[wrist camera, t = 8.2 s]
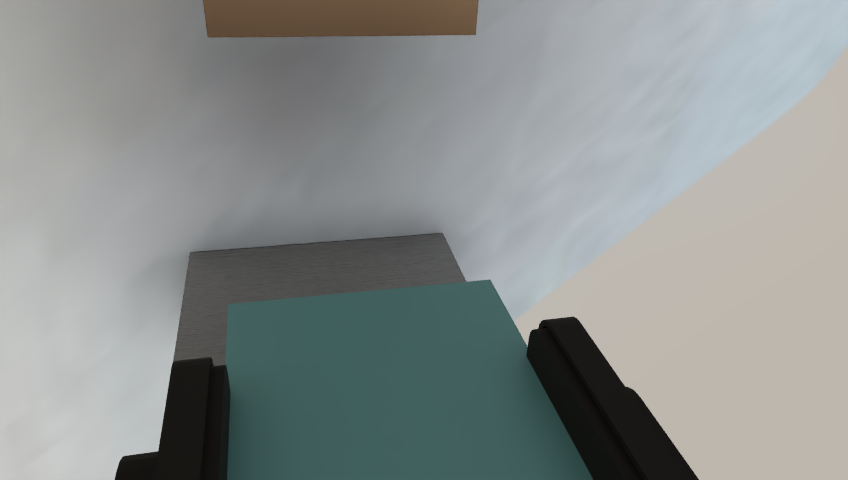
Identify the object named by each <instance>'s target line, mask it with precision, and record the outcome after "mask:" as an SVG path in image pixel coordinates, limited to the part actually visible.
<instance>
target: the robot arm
mask: <svg viewBox="0 0 848 480" xmlns="http://www.w3.org/2000/svg"><path fill="white" fill-rule="evenodd" d="M526 357H527V358H528V360H529V362H530V364H531V366H532V368H533V369H534V371H535V373H536V375H537V377H538V379H539V380H540V382H541V384H542V386H543V388H544V390H545V392H546V393H547V395H548V397H549V399H550V401H551V403H552V404H553V406H554V408H555V410H556V412H557V414H558V416H559V417H560V419H561V421H562V423H563V425H564V427H565V428H566V430H567V432H568V434H569V436H570V438H571V440H572V441H573V443H574V445H575V447H576V449H577V451H578V452H579V454H580V456H581V458H582V460H583V462H584V463H585V465H586V467H587V469H588V471H589V473H590V475H591V476H592V478H593V480H699V479H698V478H697V476H696V475H695V474H694V472H693V471H692V469H691V468H690V467H689V465H688V464H687V462H686V461H685V460H684V458H683V457H682V455H681V454H680V453H679V451H678V450H677V448H676V447H675V445H674V444H673V443H672V441H671V440H670V438H669V437H668V436H667V434H666V433H665V431H664V430H663V429H662V427H661V426H660V425H659V423H658V422H657V421H656V419H655V417H654V416H653V415H652V413H651V412H650V410H649V409H648V408H647V407H646V405H645V403H644V402H643V401H642V399H641V398H640V397H639V395H638V394H637V393H636V392H635V391H634V390H633V389H631V388H628V387H625V386H624V384H623V383H622V382H621V380H620V379H619V377H618V376H617V375H616V373H615V372H614V370H613V369H612V367H611V366H610V364H609V363H608V361H607V360H606V359H605V357H604V356H603V354H602V353H601V352H600V350H599V349H598V347H597V346H596V344H595V343H594V342H593V340H592V339H591V337H590V336H589V335H588V333H587V331H586V330H585V329H584V327H583V326H582V324H581V323H580V322H579V320H578V319H577V318H575V317H567V318H558V319H549V320H543V321H541V323H540V324H539V328H538V329H535V330H532V331H531V332H530V336H529V342H528V348H527V354H526ZM230 395H231V391H230V384H229V377H228V371H227V366H226V365H219V366H214V365H213V360H212V358H211V357H206V358H197V359H188V360H179V361H174V362H173V364H172V369H171V375H170V381H169V388H168V394H167V400H166V407H165V413H164V419H163V426H162V432H161V438H160V445H159V451H158V452H151V453H144V454H136V455H129V456H124V457H122V459H121V460H120V462H119V465H118V469H117V472H116V477H115V480H227V469H228V444H229V420H230Z"/></svg>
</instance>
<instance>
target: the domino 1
mask: <svg viewBox="0 0 848 480" xmlns="http://www.w3.org/2000/svg"><path fill="white" fill-rule="evenodd" d="M203 3H204V11H205V19H206V27H207V35H208V37H305V36H411V35H476V24H477V12H478V0H203Z"/></svg>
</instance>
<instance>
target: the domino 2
mask: <svg viewBox="0 0 848 480" xmlns="http://www.w3.org/2000/svg"><path fill="white" fill-rule="evenodd" d="M527 348H528V347H527V345H526V343H525V342H524V340H523V338H522V336H521V334H520V333H519V331H518V329H517V327H516V325H515V324H514V322H513V320H512V318H511V316H510V315H509V313H508V311H507V309H506V307H505V306H504V304H503V302H502V300H501V298H500V297H499V295H498V293H497V291H496V289H495V288H494V286H493V284H492V282H491V280H482V281H471V282H460V283H449V284H438V285H428V286H417V287H406V288H395V289H385V290H374V291H363V292H352V293H341V294H331V295H320V296H309V297H298V298H288V299H277V300H266V301H255V302H244V303H234V304H228V319H227V338H226V356H225V365H226V366H227V371H228V377H229V384H230V391H231V395H230V420H229V444H228V469H227V480H593V478H592V476H591V475H590V473H589V471H588V469H587V467H586V465H585V463H584V462H583V460H582V458H581V456H580V454H579V452H578V451H577V449H576V447H575V445H574V443H573V441H572V440H571V438H570V436H569V434H568V432H567V430H566V428H565V427H564V425H563V423H562V421H561V419H560V417H559V416H558V414H557V412H556V410H555V408H554V406H553V404H552V403H551V401H550V399H549V397H548V395H547V393H546V392H545V390H544V388H543V386H542V384H541V382H540V380H539V379H538V377H537V375H536V373H535V371H534V369H533V368H532V366H531V364H530V362H529V360H528V358H527V357H526V354H527Z"/></svg>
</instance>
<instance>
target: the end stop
mask: <svg viewBox="0 0 848 480" xmlns="http://www.w3.org/2000/svg"><path fill="white" fill-rule="evenodd" d="M460 282H466V280H465V278H464V276H463V274H462V272H461V270H460V268H459V266H458V264H457V262H456V260H455V258H454V256H453V254H452V252H451V249H450V247H449V245H448V243H447V241H446V239H445V237H444V235H443V233H442V234H429V235H416V236H403V237H390V238H377V239H363V240H350V241H337V242H324V243H311V244H298V245H285V246H272V247H259V248H246V249H233V250H220V251H207V252H194V253H190V257H189V263H188V269H187V276H186V282H185V289H184V295H183V302H182V308H181V315H180V321H179V328H178V334H177V341H176V347H175V353H174V360H173V362H174V361H179V360H188V359H197V358H206V357H211V358H212V360H213V365H214V366H219V365H225V356H226V338H227V319H228V304H234V303H244V302H255V301H266V300H277V299H288V298H298V297H309V296H320V295H331V294H341V293H352V292H363V291H374V290H385V289H395V288H406V287H417V286H428V285H438V284H449V283H460Z"/></svg>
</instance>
